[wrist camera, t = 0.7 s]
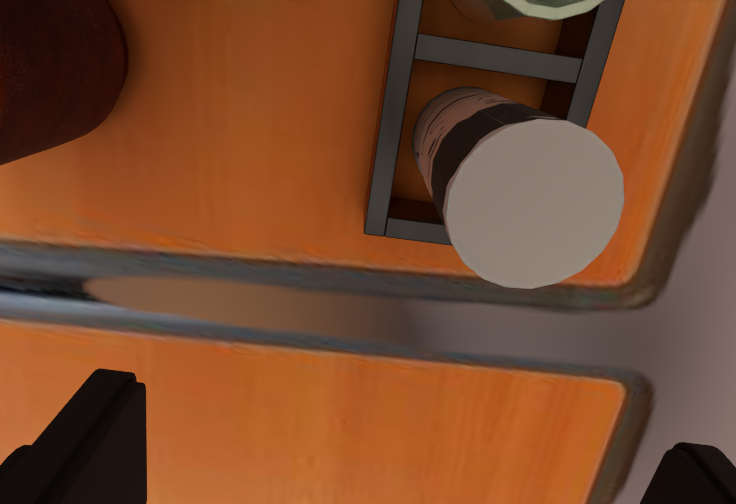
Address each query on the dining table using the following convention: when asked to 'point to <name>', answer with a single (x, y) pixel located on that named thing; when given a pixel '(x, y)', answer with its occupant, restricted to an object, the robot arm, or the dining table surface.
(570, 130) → the cup
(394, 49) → the cup stand
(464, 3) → the green tumbler
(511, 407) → the dining table surface
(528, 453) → the dining table surface
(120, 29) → the vase
